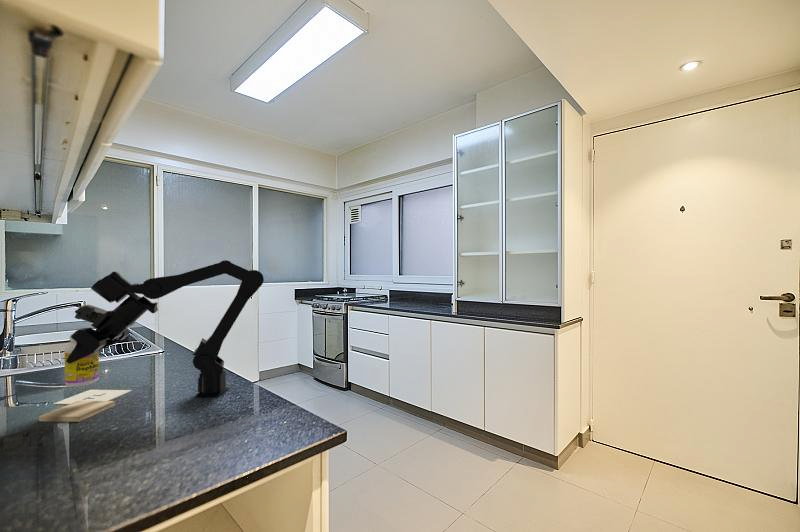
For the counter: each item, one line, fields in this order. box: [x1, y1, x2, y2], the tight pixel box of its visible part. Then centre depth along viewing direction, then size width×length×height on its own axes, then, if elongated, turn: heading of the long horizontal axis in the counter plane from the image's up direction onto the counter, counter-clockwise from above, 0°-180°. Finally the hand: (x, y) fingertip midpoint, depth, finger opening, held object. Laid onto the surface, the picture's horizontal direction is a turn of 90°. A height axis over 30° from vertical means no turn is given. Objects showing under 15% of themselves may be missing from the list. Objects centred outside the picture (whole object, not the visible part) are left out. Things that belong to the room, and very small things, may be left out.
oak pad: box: [38, 400, 116, 423], centre depth 89 cm, size 10×10×1 cm
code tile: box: [52, 389, 133, 405], centre depth 100 cm, size 13×11×1 cm
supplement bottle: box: [64, 334, 100, 388], centre depth 92 cm, size 7×7×13 cm
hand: (75, 359), depth 91 cm, fingers closed on supplement bottle, 7 cm apart
